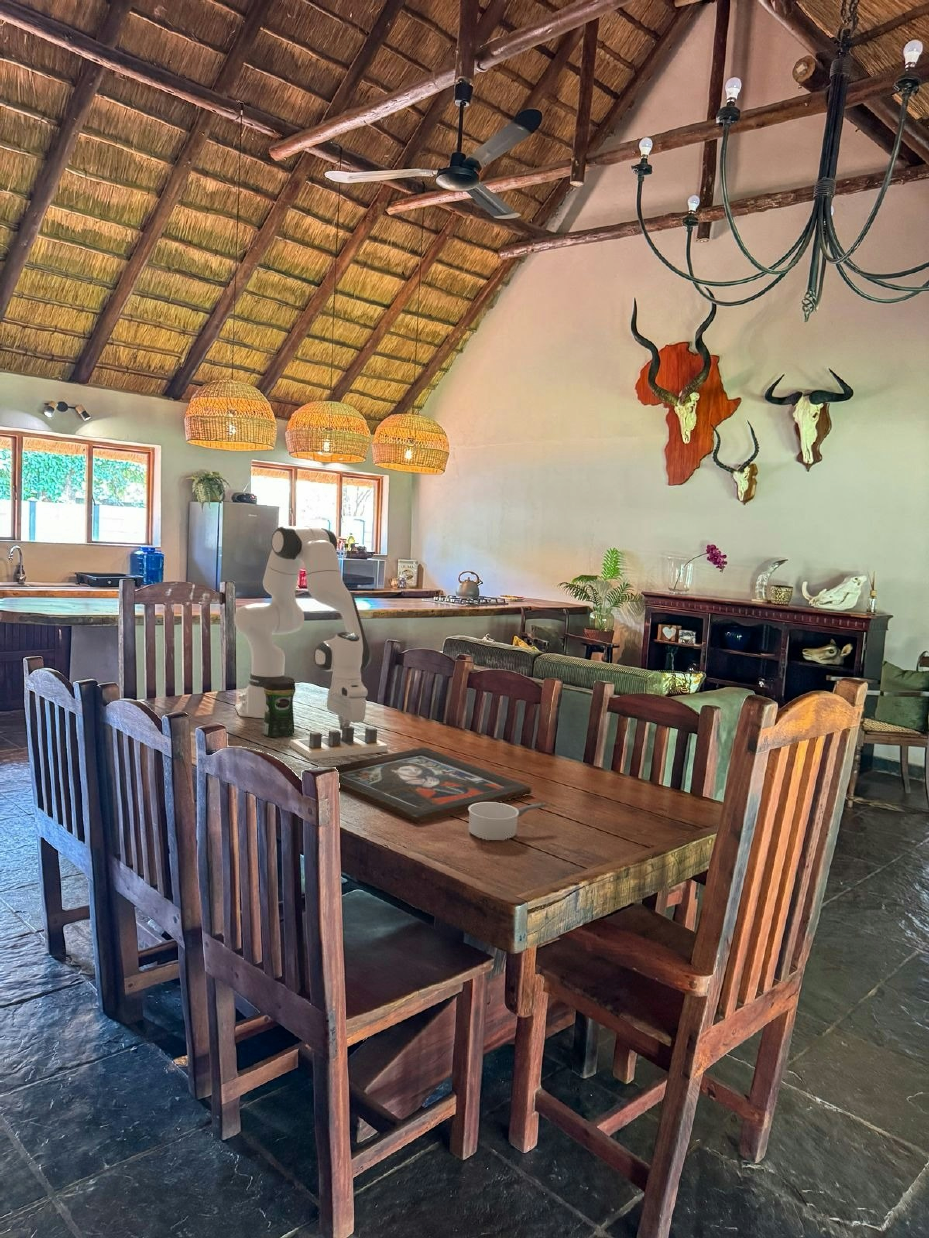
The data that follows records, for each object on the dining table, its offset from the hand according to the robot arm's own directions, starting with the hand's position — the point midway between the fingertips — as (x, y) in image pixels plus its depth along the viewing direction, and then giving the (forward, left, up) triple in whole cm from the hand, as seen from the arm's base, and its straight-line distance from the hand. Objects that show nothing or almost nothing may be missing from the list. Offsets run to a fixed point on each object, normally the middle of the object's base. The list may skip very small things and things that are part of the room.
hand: (344, 730), depth 248 cm
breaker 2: (+7, -6, -2) cm, 9 cm away
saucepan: (+81, +4, -5) cm, 81 cm away
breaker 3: (+3, 0, -2) cm, 4 cm away
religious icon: (+43, +2, -5) cm, 44 cm away
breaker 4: (+7, +6, -2) cm, 9 cm away
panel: (+4, -3, -5) cm, 7 cm away
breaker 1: (+7, -12, -2) cm, 14 cm away
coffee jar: (-18, -14, -5) cm, 24 cm away
